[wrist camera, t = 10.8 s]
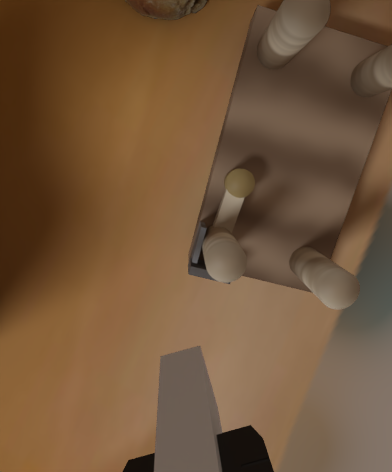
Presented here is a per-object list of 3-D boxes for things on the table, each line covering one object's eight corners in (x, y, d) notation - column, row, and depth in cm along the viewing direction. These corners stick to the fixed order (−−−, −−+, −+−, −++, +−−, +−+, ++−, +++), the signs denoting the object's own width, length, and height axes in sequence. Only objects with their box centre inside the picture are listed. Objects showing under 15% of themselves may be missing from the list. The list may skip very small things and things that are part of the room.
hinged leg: (226, 163, 31) (239, 163, 23) (257, 174, 31) (280, 177, 24) (196, 250, 33) (200, 275, 25) (226, 259, 33) (238, 287, 26)
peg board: (306, 285, 37) (354, 333, 27) (187, 256, 36) (189, 294, 26) (385, 61, 32) (482, 12, 22) (251, 19, 31) (284, -54, 21)
